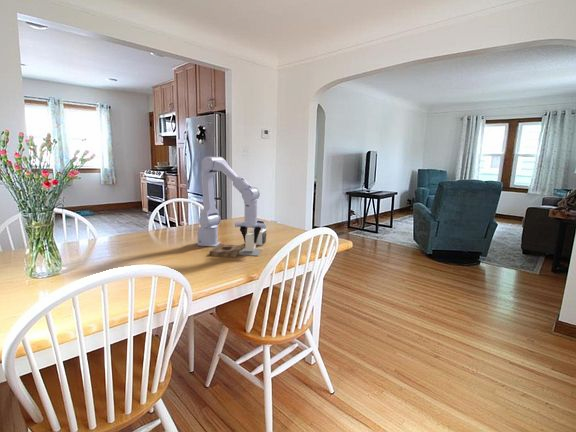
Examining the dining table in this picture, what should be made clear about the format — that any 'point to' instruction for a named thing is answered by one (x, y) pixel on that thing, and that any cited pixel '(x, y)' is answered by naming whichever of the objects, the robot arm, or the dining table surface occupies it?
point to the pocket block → (226, 250)
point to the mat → (250, 252)
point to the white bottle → (260, 235)
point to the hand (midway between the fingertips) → (250, 242)
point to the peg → (249, 241)
